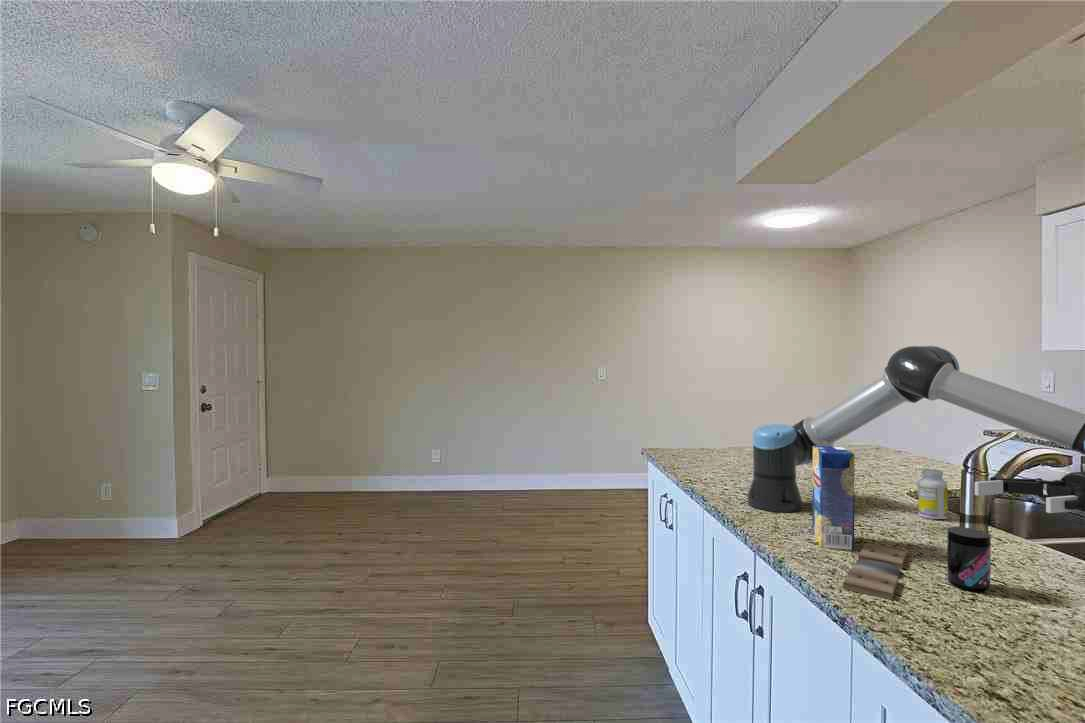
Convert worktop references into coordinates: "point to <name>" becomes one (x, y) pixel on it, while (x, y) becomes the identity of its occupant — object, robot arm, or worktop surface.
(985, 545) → the supplement container
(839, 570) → the worktop surface
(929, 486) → the supplement bottle
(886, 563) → the hinge leaves
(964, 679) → the worktop surface
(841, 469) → the beverage box
